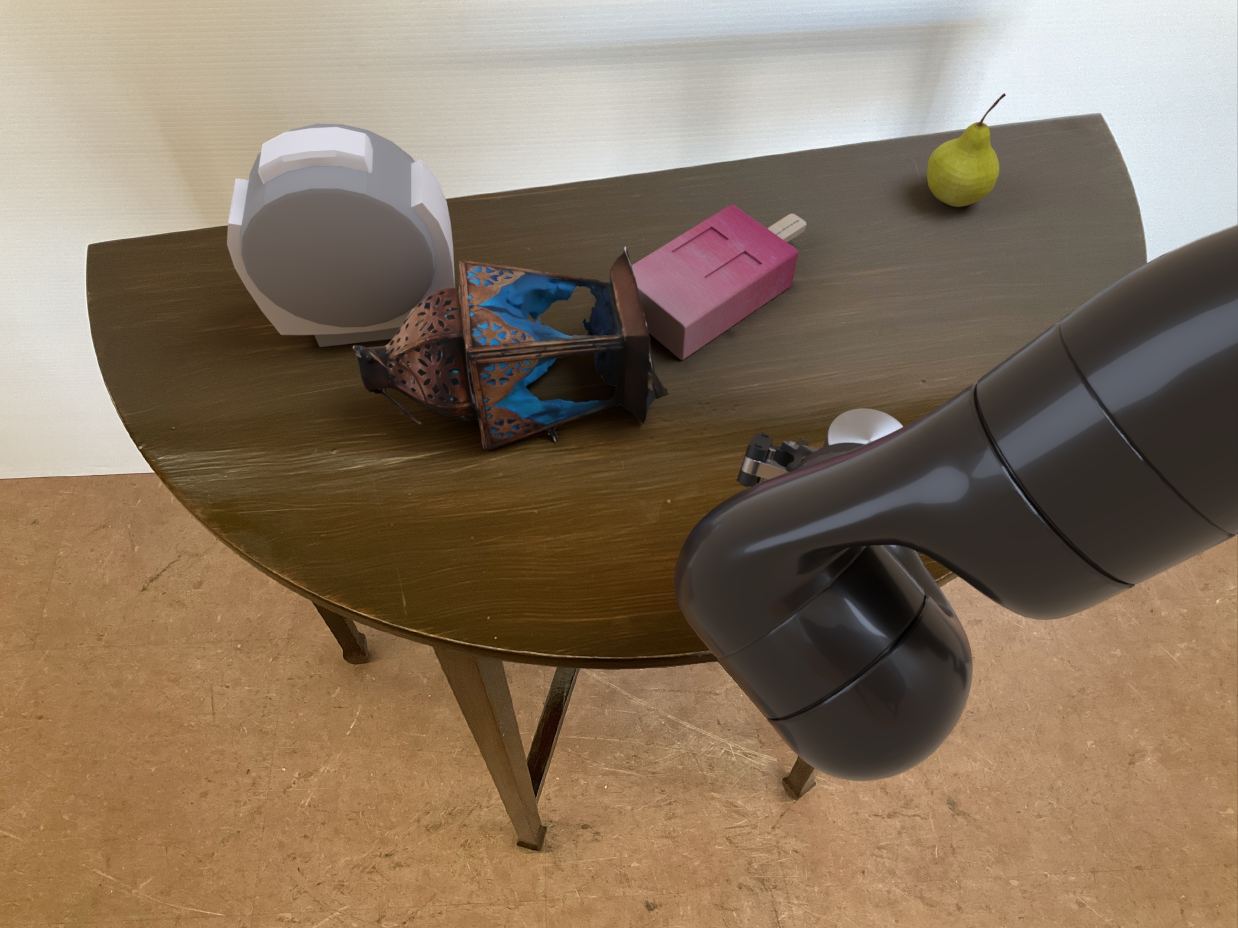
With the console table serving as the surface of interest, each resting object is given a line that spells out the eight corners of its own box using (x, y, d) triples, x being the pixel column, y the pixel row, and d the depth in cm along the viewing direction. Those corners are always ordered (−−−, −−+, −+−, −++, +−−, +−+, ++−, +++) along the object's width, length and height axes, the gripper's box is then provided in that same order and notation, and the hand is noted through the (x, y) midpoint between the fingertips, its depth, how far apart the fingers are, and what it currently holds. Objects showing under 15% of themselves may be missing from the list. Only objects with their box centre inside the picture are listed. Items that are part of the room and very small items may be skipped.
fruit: (932, 225, 89) (969, 123, 79) (908, 183, 93) (940, 81, 83) (994, 215, 90) (1039, 113, 80) (968, 174, 94) (1007, 72, 84)
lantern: (642, 409, 84) (385, 444, 81) (626, 240, 80) (353, 270, 77) (681, 447, 69) (365, 492, 65) (664, 240, 65) (324, 277, 61)
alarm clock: (466, 280, 86) (424, 97, 69) (469, 343, 81) (425, 162, 65) (285, 300, 85) (198, 119, 68) (278, 365, 80) (182, 188, 63)
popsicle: (837, 225, 82) (684, 326, 76) (828, 262, 86) (682, 362, 80) (768, 179, 86) (617, 271, 80) (762, 217, 90) (618, 308, 84)
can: (895, 516, 70) (930, 446, 62) (842, 557, 68) (871, 490, 60) (841, 467, 73) (867, 394, 64) (789, 505, 71) (809, 435, 62)
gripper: (1010, 503, 42) (979, 457, 58) (739, 412, 46) (778, 391, 61) (954, 636, 44) (939, 558, 59) (697, 539, 48) (745, 488, 63)
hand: (857, 473), depth 60 cm, fingers open, 8 cm apart
